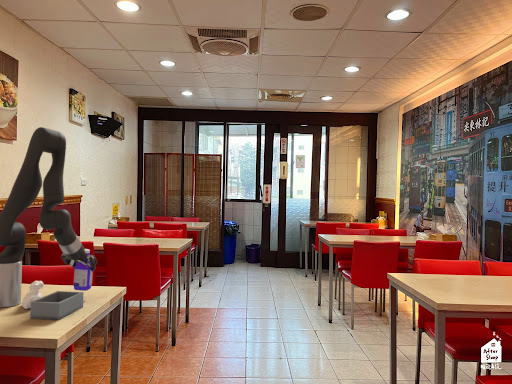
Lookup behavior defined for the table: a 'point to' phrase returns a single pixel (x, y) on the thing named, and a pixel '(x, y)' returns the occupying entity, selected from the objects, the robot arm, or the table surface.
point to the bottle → (83, 275)
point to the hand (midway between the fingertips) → (85, 269)
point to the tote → (56, 305)
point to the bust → (32, 294)
